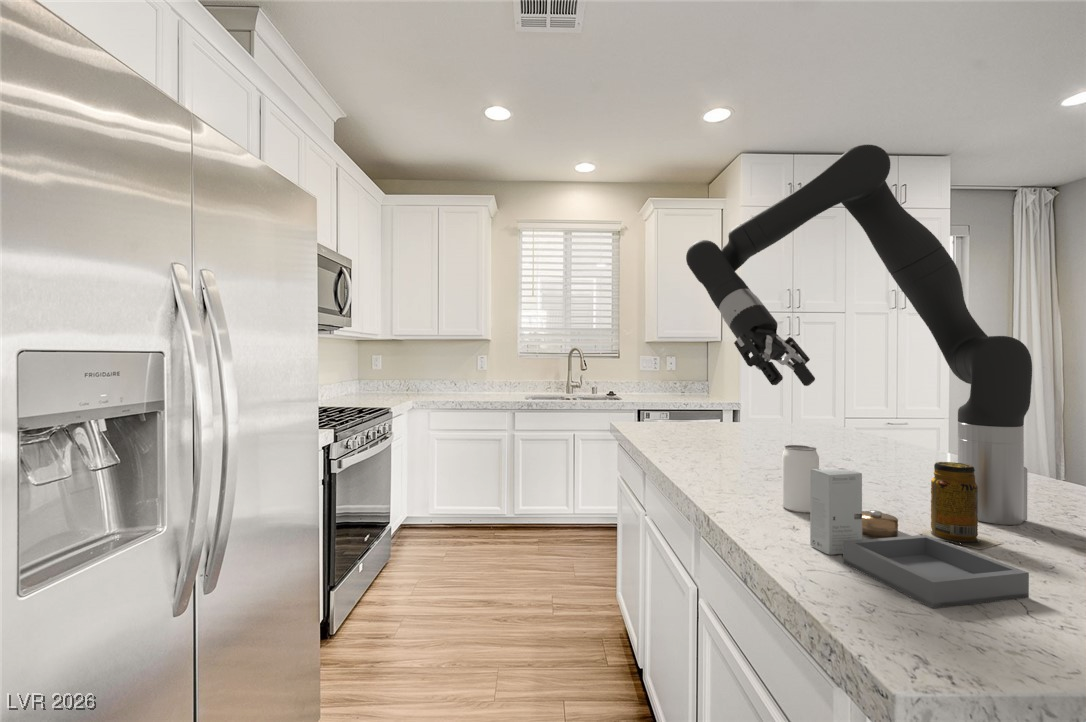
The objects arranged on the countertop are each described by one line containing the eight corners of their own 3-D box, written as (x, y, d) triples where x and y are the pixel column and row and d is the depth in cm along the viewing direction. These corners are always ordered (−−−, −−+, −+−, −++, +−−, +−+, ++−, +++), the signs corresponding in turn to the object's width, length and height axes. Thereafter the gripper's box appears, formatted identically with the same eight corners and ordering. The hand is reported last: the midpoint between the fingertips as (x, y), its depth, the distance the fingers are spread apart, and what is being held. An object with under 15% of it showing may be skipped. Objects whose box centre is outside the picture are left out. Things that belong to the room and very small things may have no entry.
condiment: (942, 528, 91) (942, 458, 91) (1003, 543, 83) (1003, 468, 83) (918, 534, 88) (918, 462, 87) (978, 551, 80) (978, 472, 80)
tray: (925, 555, 78) (925, 534, 78) (1028, 597, 64) (1028, 572, 64) (843, 562, 75) (843, 541, 75) (933, 608, 62) (933, 582, 62)
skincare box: (829, 556, 78) (830, 474, 78) (808, 545, 82) (808, 468, 82) (864, 552, 79) (864, 472, 79) (841, 542, 84) (841, 466, 84)
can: (823, 514, 98) (823, 450, 98) (786, 512, 100) (786, 449, 100) (813, 505, 105) (813, 445, 105) (778, 503, 106) (778, 444, 106)
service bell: (876, 528, 90) (876, 503, 90) (918, 544, 83) (918, 517, 83) (836, 531, 89) (836, 506, 89) (874, 548, 81) (874, 520, 81)
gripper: (732, 300, 96) (781, 367, 86) (784, 306, 102) (836, 369, 93) (708, 328, 101) (752, 395, 91) (760, 333, 107) (806, 396, 98)
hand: (794, 382), depth 92 cm, fingers open, 8 cm apart
